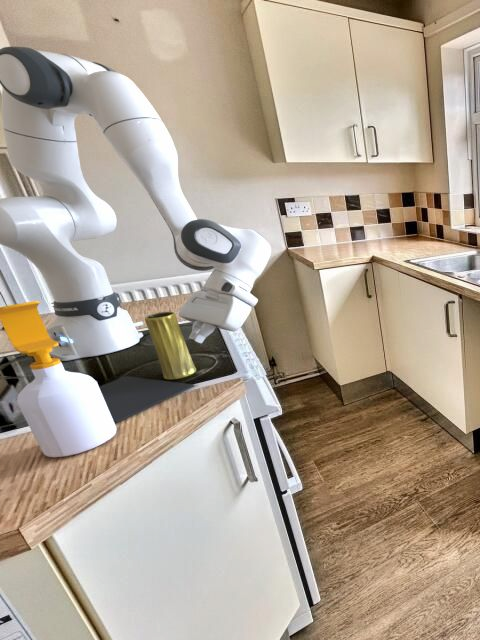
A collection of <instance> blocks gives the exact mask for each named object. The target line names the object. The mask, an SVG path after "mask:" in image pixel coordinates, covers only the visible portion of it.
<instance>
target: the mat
mask: <svg viewBox="0 0 480 640" xmlns="http://www.w3.org/2000/svg"><path fill="white" fill-rule="evenodd" d="M98 386H99V385H98ZM193 387H195V385H194V384H193V383H185V382H178V381H177V382H176V381H170V380H161V379H153V378H144V377H137V376H129V375H125V376H122V377H119V378H117V379H115V380H113V381H110V382H107V383H104V384H102V385H100V386H99V388H100V391H101V393H102V395H103V398H104V400H105V402H106V405H107V407H108V409H109V412H110V414H111V416H112V419H113V421H114V423H115V424H118V423H120V422H123V421H125V420H127V419H128V418H130V417H133V416H134V415H138V414H139V413H141V412H143V411H145V410H148V409H149V408H152V407H153V406H156V405H158V404H161V403H162V402H164V401H166V400H168V399H170V398H173V397H174V396H177V395H179V394H180V393H183V392H185V391H188V390H189V389H192V388H193Z"/></svg>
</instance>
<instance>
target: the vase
mask: <svg viewBox="0 0 480 640" xmlns="http://www.w3.org/2000/svg"><path fill="white" fill-rule="evenodd" d="M144 321H145V324H146V327H147V329H148V330H147V331H148V332H149V335H150V339H151V341H152V343H153V346H154V349H155V352H156V354H157V358H158V361H159V365H160V368H161V372H162V376H163V377H162V378H163V379H164V380H166V381H174V380H180V379H185V378H188V377H190V376H192V375H194V374H195V373H197V368H196V366H195V363H194V361H193V359H192V356H191V354H190V351H189V348H188V346H187V343H186V340H185V337H184V335H183V333H182V329H181V327H180V323H179V321H178V318H177V315H176V312H175V311H160V312H154V313H152V314H151V313H150V314H148V315H146V316H145V317H144Z"/></svg>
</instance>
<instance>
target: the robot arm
mask: <svg viewBox="0 0 480 640" xmlns="http://www.w3.org/2000/svg"><path fill="white" fill-rule="evenodd" d="M0 85H1V87H2V90H1V120H2V127H3V132H4V133H3V134H4V138H5V144H6V149H7V155H8V160H9V163H10V165H11V166H12V167H13V168H14V169H15V170H16V171H17V172H18V173H20V174H22V175H23V176H25V177H26V178H30V179H32V180H34V181H37V183H38V184H39V186H40V188H41V191H42V195H32V196H31V195H30V196H10V197H9V196H7V197H3V198H0V245H1V246H3V247H7V248H8V249H11V250H14V251H15V252H16V253H19V254H20V255H22V256H23V257H25V258H26V259H27V260H28V261H30V262H31V263H32V264H33V265H34V266H35V267H36V269H37V270H38V271H39V272H40V274H41V275H42V277H43V279H44V281H45V283H46V285H47V287H48V289H49V291H50V294H51V295H52V297H53V300H54V301H53V302H51V303H50V304H51V305H52V306H51V307H52V308H53V310H54V315H56V316H55V318H53V320H52V322H51V323H50V324H49V326H48V327H47V328H46V330H47V332H48V334H49V336H50V338H51V339H52V340H54V341H56V342H58V344H59V345H58V346H56V347H52V350H53V351H51V352H49V355H50V357H51V358H59V359H60V361H61V362H67V361H72V360H78V359H83V358H89V357H90V358H91V357H96V356H102V355H106V354H111V353H114V352H119V351H122V350H125V349H127V348H130V347H133V346H135V345H136V344H138V343H140V340H141V339H142V338H143V337H144V334H143V332H141V331H138V330H137V328H136V327H138V326H142V325H143V324H144V323H143V321H139V322H135V323H134V322H133V320H132V317H131V316H130V314H129V312H128V311H127V310H126V309H123V308H122V307H120V306H121V302H120V298H119V297H118V295H117V293H116V292H114V291H113V288H112V285H111V282H110V280H109V278H108V275H107V272H106V268H105V267H104V265H102V264H101V263H100V262H99V261H97V260H95V259H93V258H90V257H88V256H87V257H86V256H83V255H81V254H80V253H78V251H76V249H75V248H74V247H73V246H72V244H71V243H72V242H79V241H87V240H94V239H97V238H100V237H103V236H106V235H108V234H111V233H113V232H114V231H116V228H117V225H118V220H117V215H116V212H115V210H114V209H113V208H112V206H110V204H108V203H107V202H106V201H105V200H103V198H100V197H99V196H97V195H96V194H95V192H93V191H92V189H91V188H90V187H89V185H88V183H87V181H86V179H85V177H84V174H83V172H82V166H81V162H80V155H79V148H78V139H77V133H76V127H75V120H76V118H77V117H78V116H79V115H89V116H90V117H92V118H93V120H95V122H96V124H97V125H98V127H99V129H100V130H101V133H102V134H103V135H104V137H105V138H106V140H107V141H108V143H109V144H110V146H111V147H112V149H113V150H114V151H115V152H116V154H117V155H118V156H119V158H120V159H121V161H122V162H123V163H124V164H125V165H126V166H127V168H128V169H129V170H130V171H131V173H132V174H133V175H134V176H135V178H136V179H137V181H138V182H139V183H140V184H141V186H142V187H143V188H144V189H145V191H146V192H147V194H148V195H149V197H150V199H151V200H152V202H153V203H154V205H155V207H156V208H157V210H158V212H159V214H160V215H161V216H162V218H163V220H164V222H165V223H166V226H167V227H168V229H169V231H170V232H171V235H172V240H173V250H174V254H175V257H176V258H177V259H178V261H179V262H180V263H181V264H182V265H183V266H185V267H187V268H189V269H191V270H195V271H200V272H205V271H211V270H212V272H211V274H210V275H209V276H208V278H207V279H206V281H205V282H204V284H203V286H202V288H201V289H200V290H197V291H194V292H193V293H192V294H191V295H190V296H189V297H188V298H187V300H186V301H185V302H184V304H183V305H182V306H181V308H180V309H179V311H178V317H180V318H182V319H183V320H186V321H188V322H190V323H192V327H191V333H190V334H189V336H188V341H189V340H190V341H192V342H194V343H198V344H203V342H204V341H205V340H206V339H207V337H209V336H210V335H211V334H212V333H214V332H215V329H216V328H217V329H221V330H224V331H229V332H233V333H235V332H237V331H238V330H239V329H241V328H242V326H243V325H244V324H245V322H246V320H247V318H248V317H249V315H250V313H251V311H252V307H253V308H255V306H256V305H257V303H258V302H259V299H258V298H257V297H256V296H254V295H253V294H252V293H251V291H252V290H253V288H254V284H255V282H256V280H257V279H258V278H259V277H260V276H261V275H262V274H263V272H264V270H265V268H266V266H267V265H268V263H269V260H270V258H271V254H272V247H271V245H270V242H269V241H268V240H267V239H266V238H265V237H264V236H263V234H260V233H259V232H258V231H256V230H253V229H252V228H248V227H246V228H237V227H230V226H228V225H227V226H226V225H223V224H221V223H217V222H215V221H213V220H209V219H203V218H198V217H197V216H196V214H195V212H194V211H193V209H192V207H191V205H190V204H189V201H188V200H187V198H186V197H185V195H184V192H183V190H182V187H181V184H180V183H181V182H180V179H179V155H178V152H177V148H176V146H175V143H174V140H173V138H172V136H171V134H170V132H169V130H168V129H167V127H166V124H165V123H164V122H163V119H162V118H161V116H160V115H159V114H158V112H157V111H156V109H155V108H154V106H153V105H152V104H151V102H150V101H149V99H148V98H147V96H145V94H144V93H143V91H142V90H141V89H140V88H139V87H138V86H137V85H136V83H135V82H134V81H132V79H130V78H129V77H127V76H126V75H124V74H122V73H120V72H118V71H116V70H114V69H112V68H111V67H109V66H106V65H104V64H101V63H99V62H96V61H89V60H86V59H83V58H81V57H78V56H74V55H71V54H66V53H57V52H51V51H45V50H39V49H38V50H37V49H33V48H31V47H27V46H5V47H2V48H0ZM1 330H3V331H4V330H5V329H4V327H3V326H2V327H1Z"/></svg>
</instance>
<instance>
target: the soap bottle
mask: <svg viewBox="0 0 480 640" xmlns="http://www.w3.org/2000/svg"><path fill="white" fill-rule="evenodd" d="M39 305H40V301H39V300H32V301H27V302H22V303H21V302H20V303H15V304H9V305H4V306H0V323H1V325H2V328H3V327H4V329H3V330H4V331H5V333H6V335H7V337H8V340H9V341H10V343H11V345H12V347H13V348H14V349H15V351H17V352H19V353H20V354H22V355H25V354H26V355H27V357H33V359H34V362H31V364H29V367H30V370H31V372H32V374H33V377H34V379H33V380H32V381H31V382H29V383H28V384H27V385H25V386H24V387H23V389H22V390H20V392H18V394H17V397H16V404H17V406H18V407H19V410H20V411H21V414H22V415H23V417H24V419H25V421H26V423H27V425H28V427H29V429H30V431H31V433H32V434H33V437H34V438H35V441H36V443H37V445H38V446H39V448H40V450H41V452H42V454H44V456H46V457H49V458H62V457H63V458H64V457H70V456H73V455H78V454H81V453H85V452H87V451H90V450H93V449H95V448H97V447H99V446H101V445H103V444H104V443H106V442H108V441H109V440H111V439H112V438H113V437H114V436H115V435H116V433H117V425H116V423H115V422H114V421H113V419H112V416H111V414H110V412H109V409H108V407H107V405H106V402H105V400H104V398H103V395H102V393H101V391H100V388H99V384H98V381H97V380H95V379H94V378H93V377H92V376H90V375H88V374H85V373H81V372H74V371H68V370H65V368H64V364H63V363H62V361H61V360H60V359H59V358H53V357H50V355H49V352H51V351H53V350H52V347H56V346H58V345H59V344H58V342H56V341H54V340H52V339H51V338H50V336H49V334H48V332H47V328H46V325H45V324H44V322H43V319H42V317H41V315H40V313H39V310H38V306H39Z"/></svg>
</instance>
